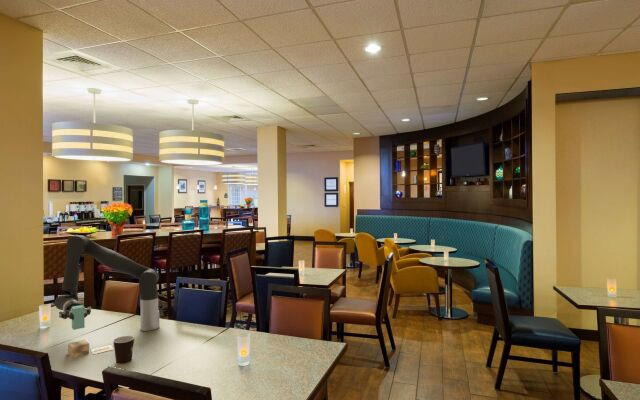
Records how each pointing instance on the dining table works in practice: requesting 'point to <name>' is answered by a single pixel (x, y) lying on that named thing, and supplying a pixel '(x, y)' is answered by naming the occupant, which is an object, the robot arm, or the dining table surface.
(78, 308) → the tall block
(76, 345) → the base brick
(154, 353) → the dining table surface
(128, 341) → the coffee mug
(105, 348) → the page
